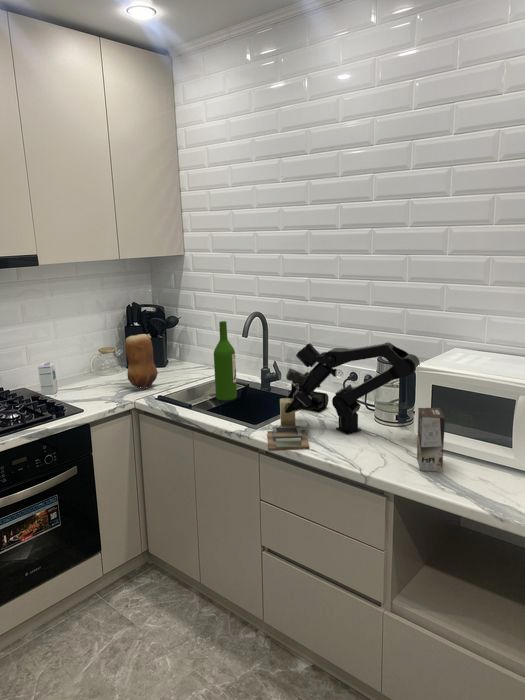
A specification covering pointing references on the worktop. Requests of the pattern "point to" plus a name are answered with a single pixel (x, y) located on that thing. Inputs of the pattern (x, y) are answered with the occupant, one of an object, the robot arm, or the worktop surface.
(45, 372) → the syrup box
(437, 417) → the coffee box
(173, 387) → the worktop surface
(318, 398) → the end cap
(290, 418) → the tan wooden block
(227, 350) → the wine bottle
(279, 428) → the shunted jig
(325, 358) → the robot arm
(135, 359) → the butternut squash
